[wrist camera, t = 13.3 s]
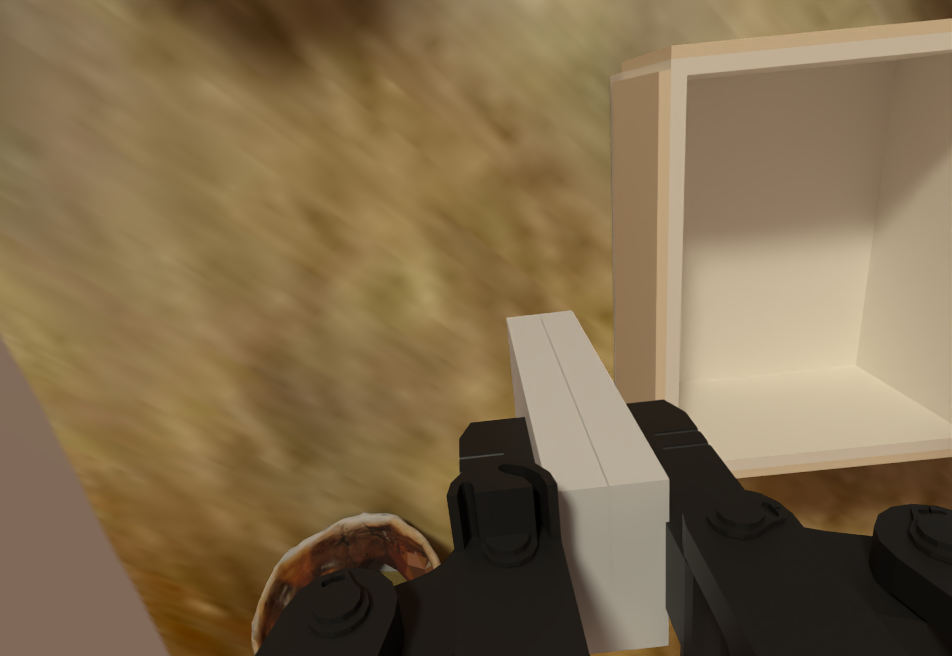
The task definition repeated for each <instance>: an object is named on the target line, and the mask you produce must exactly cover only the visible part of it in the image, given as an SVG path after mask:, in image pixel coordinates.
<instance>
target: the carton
mask: <svg viewBox="0 0 952 656" xmlns="http://www.w3.org/2000/svg"><path fill="white" fill-rule="evenodd" d="M610 107H611V176H612V245H613V314H614V383H615V386H616V388H617V389H618V391H619V393H620V395H621V396H622V398H623V400H624V401H625V403H626V404H627V403H636V402H645V401H654V400H663V399H664V400H666V401H667V402H669V403H671V404H673V405H674V406H676V407H678V408H680V409H681V410H683V411H685V412H686V413H687V414H688V416H689V417H690V418H691V420H692V421H693V422H694V424H695V425H696V426H697V428H698V431H700V432H701V433H702V434H703V436H704V437H705V438H706V439H707V441H708V445H711V446H712V447H713V449H714V450H715V451H716V453H717V454H718V455H719V457H720V458H721V459H722V461H723V462H724V463H725V465H726V466H727V467H728V468H729V470H730V471H731V472H732V474H733V475H734V476H735V478H746V477H756V476H766V475H776V474H786V473H796V472H806V471H816V470H826V469H836V468H846V467H856V466H866V465H876V464H886V463H896V462H906V461H916V460H926V459H936V458H946V457H952V18H951V19H941V20H931V21H921V22H910V23H900V24H890V25H879V26H869V27H859V28H849V29H838V30H828V31H818V32H807V33H797V34H787V35H777V36H766V37H756V38H746V39H735V40H725V41H715V42H705V43H694V44H684V45H674V46H669V47H666V48H663V49H660V50H657V51H654V52H651V53H648V54H645V55H642V56H639V57H636V58H633V59H630V60H627V61H624V62H622V73H618V74H615V75H611V76H610Z"/></svg>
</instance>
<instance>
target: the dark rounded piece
mask: <svg viewBox="0 0 952 656" xmlns="http://www.w3.org/2000/svg"><path fill="white" fill-rule="evenodd" d="M440 564H441V563H440V560H439V558H438V556H437V554H436V552H435V551H434V549H433V548H432V546H431V544H430V543H429V542H428V541H427V539H426V538H425V537H424V536H423V534H422V533H420V532H419V531H418V530H416V529H415V528H413V527H411V526H410V525H409V524H408V523H406V522H405V521H404V520H403V519H402V518H400V517H399V516H397V515H393V514H390V513H376V514H372V513H362V514H360V515H357V516H352V517H347V518H344V519H342V520H340V521H338V522H336V523H335V524H333V525H332V526H328V527H327V528H326V529H324V530H323V531H321V532H319V533H317V534H315V535H313V536H311V537H309V538H307V539H305V540H303V541H302V542H301V543H300V544H299V545H297V546H295V547H293V548H291V549H290V550H289V551H288V552H287V553H285V555H284V556H283V557H282V559H281V560H280V561H279V562H278V564H277V565H276V566H275V567H274V570H273V572H272V574H271V576H270V578H269V580H268V582H267V584H266V586H265V588H264V591H263V593H262V596H261V598H260V600H259V603H258V606H257V610H256V613H255V616H254V619H253V621H252V638H251V642H252V648H253V652H254V656H255V654H256V653H257V651H258V649H259V648H260V646H261V645H262V643H263V642H264V640H265V638H266V637H267V635H268V634H269V632H270V630H271V629H272V627H273V626H274V624H275V623H276V621H277V619H278V618H279V616H280V615H281V613H282V611H283V610H284V608H285V607H286V605H287V604H288V603H289V602H290V601H291V599H292V598H293V597H294V596H295V595H296V594H297V593H298V591H299V590H300V589H301V588H303V587H304V586H306V585H308V584H309V583H311V582H312V581H314V580H315V579H317V578H318V577H320V576H322V575H325V574H328V573H331V572H334V571H337V570H339V569H347V568H360V567H362V568H366V569H370V570H374V571H399V572H400V573H401V575H402V576H403V577H404V578H405V579H406V580H407V581H409V580H412V579H415V578H417V577H419V576H421V575H424V574H426V573H428V572H430V571H432V570H433V569H434V568H436V567H437V566H439V565H440Z"/></svg>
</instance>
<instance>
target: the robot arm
mask: <svg viewBox="0 0 952 656" xmlns="http://www.w3.org/2000/svg"><path fill="white" fill-rule="evenodd" d="M507 329H508V339H509V350H510V360H511V370H512V381H513V391H514V402H515V412H516V418H510V419H501V420H492V421H483V422H474V423H470V424H469V426H468V427H467V429H466V430H465V432H464V433H463V434H462V436H461V437H460V439H459V456H460V475H459V476H458V477H457V478H456V479H455V480H454V481H453V482H452V483H451V484H450V487H449V490H448V493H447V502H448V509H449V516H450V522H451V529H452V536H453V542H454V550H453V552H452V553H451V554H450V555H449V556H448V558H447V559H446V560H445V561H444V562H443V563H441V564H440V565H439V566H437V567H436V568H434V569H433V570H432V571H430V572H428V573H426V574H424V575H421V576H419V577H417V578H415V579H412V580H409V581H407V582H404V583H401V584H399V585H396V586H393V583H392V581H390V580H389V579H388V578H386V577H385V576H384V575H383V574H381V573H380V572H378V571H374V570H370V569H366V568H362V567H360V568H347V569H339V570H337V571H334V572H331V573H328V574H325V575H322V576H320V577H318V578H317V579H315V580H314V581H312V582H311V583H309V584H308V585H306V586H304V587H303V588H301V589H300V590H299V591H298V593H297V594H296V595H295V596H294V597H293V598H292V599H291V601H290V602H289V603H288V604H287V605H286V607H285V608H284V610H283V611H282V613H281V615H280V616H279V618H278V619H277V621H276V623H275V624H274V626H273V627H272V629H271V630H270V632H269V634H268V635H267V637H266V638H265V640H264V642H263V643H262V645H261V646H260V648H259V649H258V651H257V653H256V654H255V656H590V654H594V653H604V652H613V651H622V650H632V649H641V648H651V647H660V646H669V618H670V620H671V623H672V625H673V627H674V630H675V632H676V635H677V637H678V639H679V642H680V644H681V650H680V656H952V510H949V509H945V508H942V507H938V506H928V505H918V504H908V505H901V506H894V507H890V508H889V509H887V510H885V511H884V512H882V513H880V514H878V517H877V520H876V523H875V526H874V531H873V536H865V535H856V534H847V533H838V532H829V531H821V530H816V529H810V528H805V527H803V526H802V524H801V523H800V522H799V521H798V520H797V518H796V517H795V516H794V515H793V514H792V513H791V512H790V511H789V510H787V509H786V508H785V507H784V506H783V505H781V504H780V503H779V502H777V501H775V500H773V499H771V498H769V497H767V496H765V495H762V494H760V493H757V492H752V491H748V490H744V488H743V487H742V486H741V484H740V483H739V482H738V480H737V479H736V478H735V476H734V475H733V474H732V472H731V471H730V470H729V468H728V467H727V466H726V465H725V463H724V462H723V461H722V459H721V458H720V457H719V455H718V454H717V453H716V451H715V450H714V449H713V447H712V446H711V445H708V441H707V439H706V438H705V437H704V436H703V434H702V433H701V432H700V431H698V428H697V426H696V425H695V424H694V422H693V421H692V420H691V418H690V417H689V416H688V414H687V413H686V412H685V411H683V410H681V409H680V408H678V407H676V406H674V405H673V404H671V403H669V402H667V401H666V400H664V399H663V400H654V401H645V402H636V403H627V404H626V403H625V401H624V400H623V398H622V396H621V395H620V393H619V391H618V389H617V388H616V386H615V384H614V382H613V381H612V379H611V377H610V375H609V374H608V372H607V370H606V368H605V367H604V365H603V363H602V362H601V360H600V358H599V356H598V355H597V353H596V351H595V349H594V348H593V346H592V344H591V342H590V341H589V339H588V337H587V336H586V334H585V332H584V330H583V329H582V327H581V325H580V323H579V322H578V320H577V318H576V316H575V315H574V313H573V311H563V312H554V313H545V314H537V315H528V316H519V317H510V318H507Z"/></svg>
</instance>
